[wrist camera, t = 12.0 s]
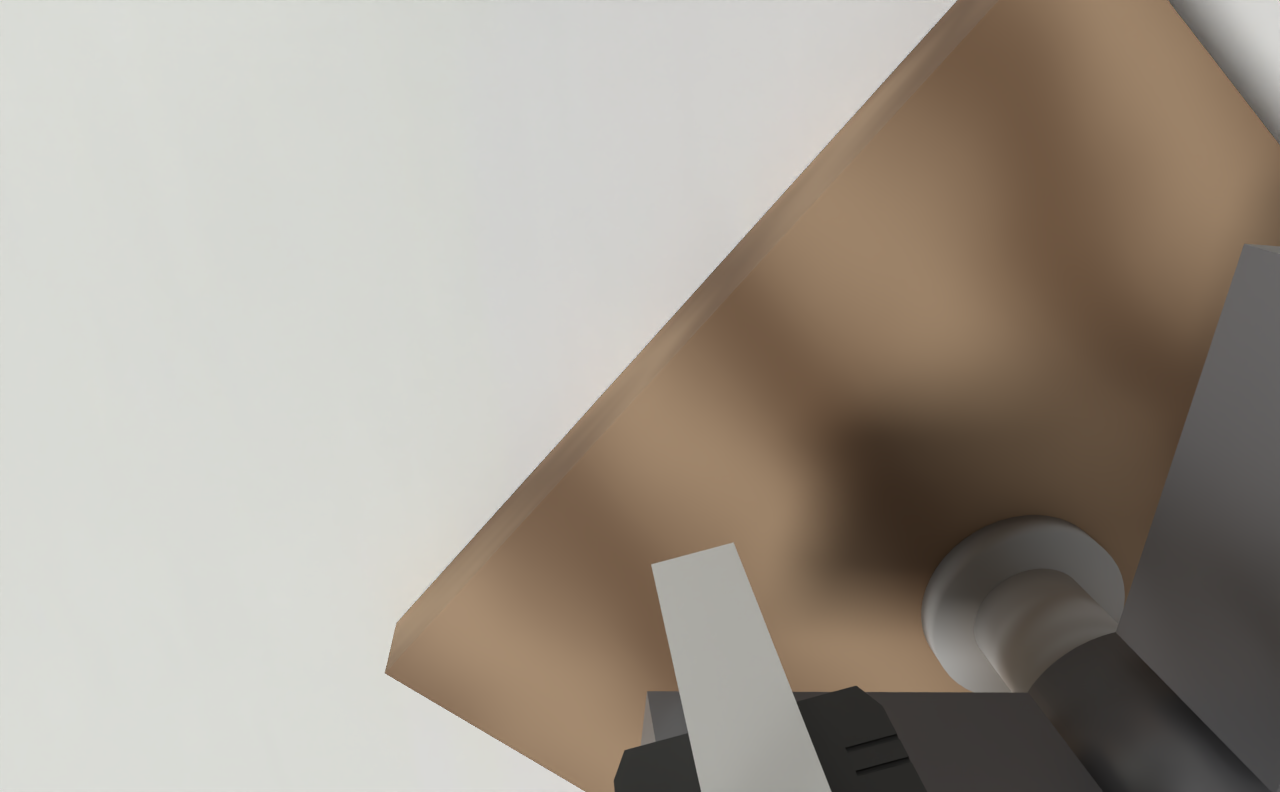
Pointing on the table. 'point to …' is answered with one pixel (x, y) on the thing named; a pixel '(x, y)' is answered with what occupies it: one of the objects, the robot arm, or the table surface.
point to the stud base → (891, 394)
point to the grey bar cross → (1147, 619)
